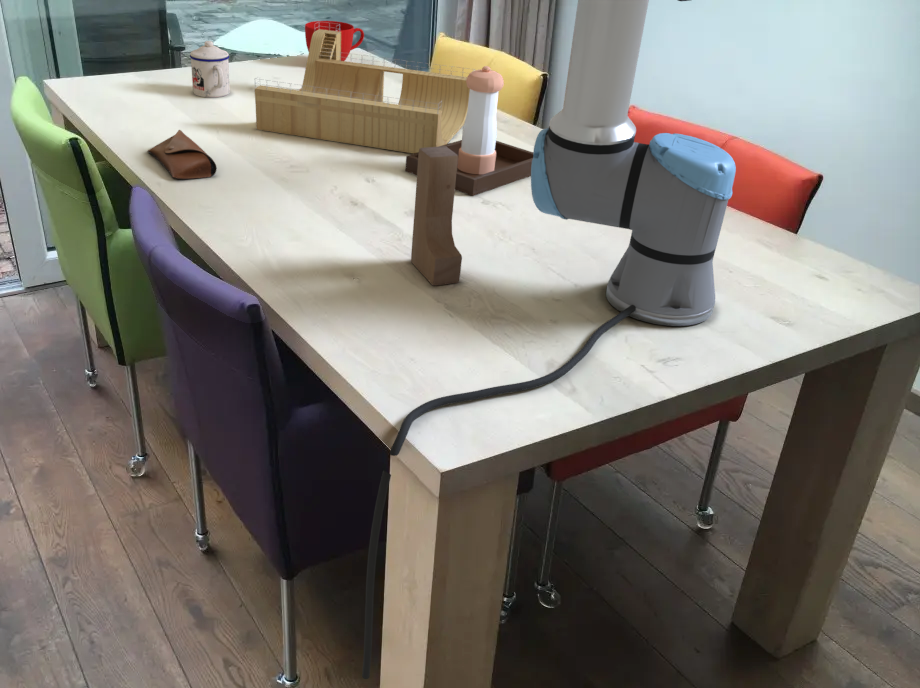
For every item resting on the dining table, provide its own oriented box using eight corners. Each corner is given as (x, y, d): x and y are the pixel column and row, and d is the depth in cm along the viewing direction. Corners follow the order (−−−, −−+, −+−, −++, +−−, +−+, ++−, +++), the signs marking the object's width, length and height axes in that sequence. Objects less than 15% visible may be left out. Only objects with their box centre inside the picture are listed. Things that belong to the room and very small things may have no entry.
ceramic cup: (374, 67, 244) (375, 28, 239) (318, 72, 237) (318, 32, 231) (351, 56, 254) (352, 18, 248) (296, 61, 246) (296, 22, 241)
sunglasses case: (143, 149, 177) (158, 118, 175) (174, 163, 181) (189, 133, 180) (173, 179, 164) (189, 145, 162) (206, 193, 169) (222, 161, 167)
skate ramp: (255, 134, 193) (252, 55, 184) (318, 91, 221) (318, 21, 212) (434, 161, 183) (440, 80, 174) (477, 113, 211) (484, 41, 202)
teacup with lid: (187, 89, 217) (183, 38, 210) (223, 86, 221) (220, 36, 214) (203, 102, 208) (200, 49, 202) (240, 99, 212) (238, 47, 205)
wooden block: (460, 283, 135) (472, 165, 125) (432, 286, 133) (442, 167, 123) (436, 259, 141) (446, 145, 132) (409, 262, 140) (417, 147, 130)
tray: (472, 196, 166) (474, 179, 164) (405, 171, 175) (406, 155, 174) (543, 171, 179) (545, 156, 177) (477, 149, 189) (478, 134, 187)
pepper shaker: (449, 166, 177) (458, 64, 167) (475, 159, 181) (486, 60, 171) (475, 177, 173) (487, 73, 162) (502, 170, 177) (514, 68, 166)
